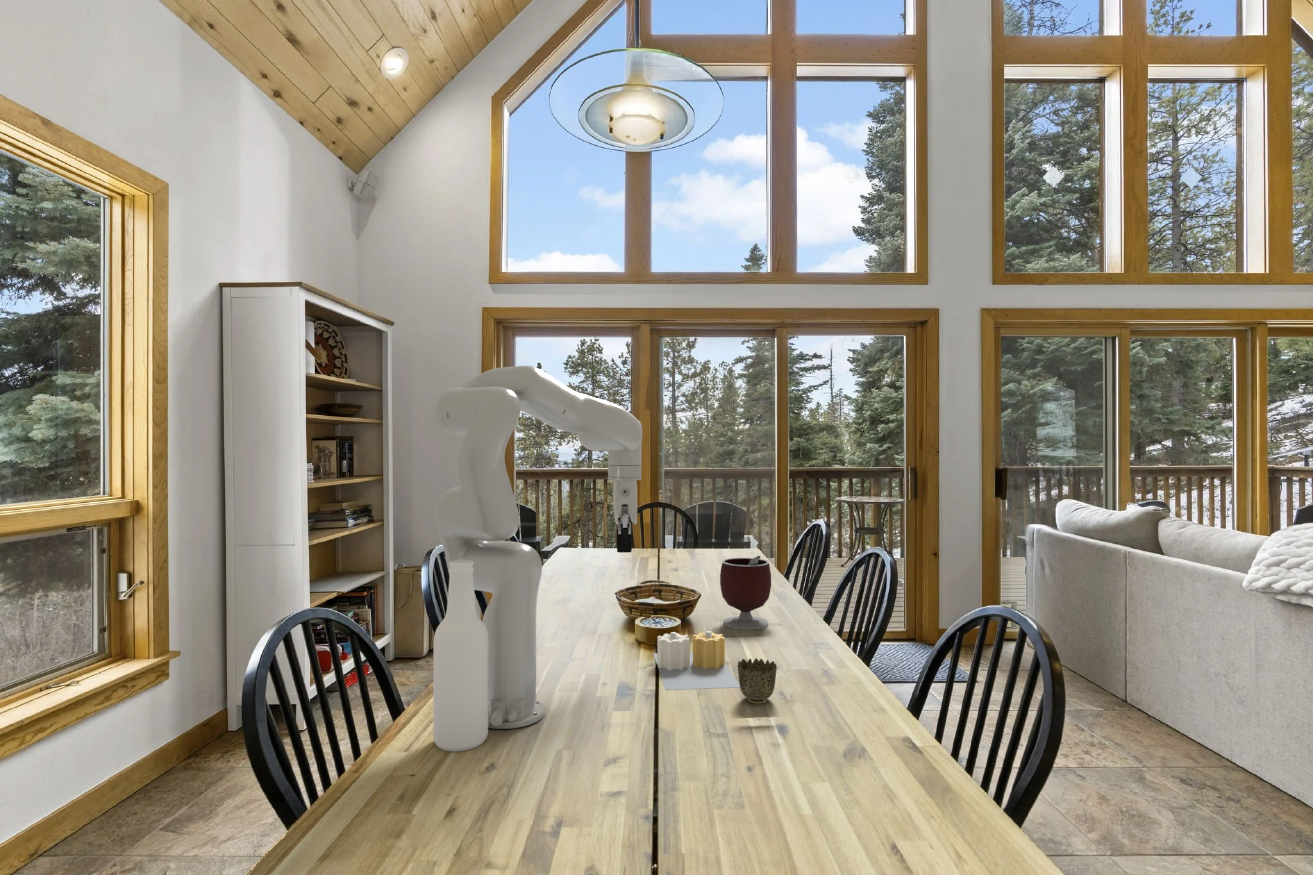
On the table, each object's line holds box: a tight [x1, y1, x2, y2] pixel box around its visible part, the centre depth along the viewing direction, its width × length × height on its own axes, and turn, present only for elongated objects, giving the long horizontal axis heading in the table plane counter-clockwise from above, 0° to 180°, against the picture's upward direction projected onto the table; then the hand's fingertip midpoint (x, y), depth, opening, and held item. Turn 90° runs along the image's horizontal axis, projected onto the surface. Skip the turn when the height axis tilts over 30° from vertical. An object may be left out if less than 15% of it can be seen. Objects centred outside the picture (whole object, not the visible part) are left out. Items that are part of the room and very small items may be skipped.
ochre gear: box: [692, 631, 726, 669], centre depth 154 cm, size 7×7×6 cm
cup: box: [736, 657, 777, 704], centre depth 133 cm, size 8×7×8 cm
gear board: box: [653, 630, 740, 691], centre depth 151 cm, size 24×15×8 cm, turn 6°
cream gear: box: [656, 632, 691, 670], centre depth 153 cm, size 7×7×6 cm
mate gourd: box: [719, 555, 772, 631], centre depth 192 cm, size 16×14×20 cm
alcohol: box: [432, 560, 489, 753], centre depth 117 cm, size 9×9×30 cm
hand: (623, 549), depth 159 cm, fingers open, 9 cm apart
